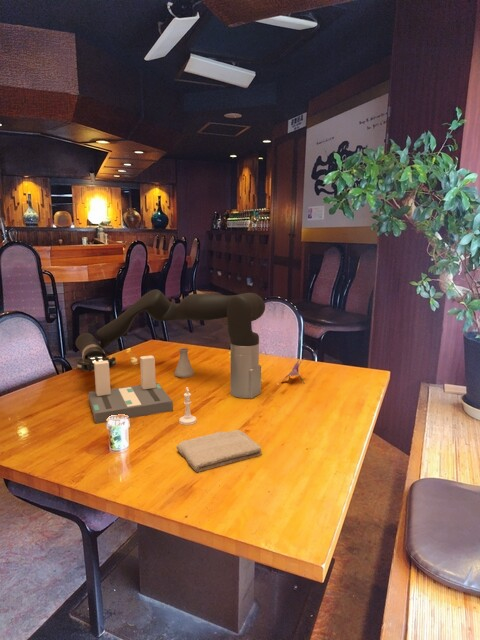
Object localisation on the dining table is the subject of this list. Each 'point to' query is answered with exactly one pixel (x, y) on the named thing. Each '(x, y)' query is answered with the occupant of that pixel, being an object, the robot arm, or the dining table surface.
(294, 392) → the dining table surface
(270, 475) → the dining table surface
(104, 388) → the tab
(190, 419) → the chess piece
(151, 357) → the tab
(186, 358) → the flask
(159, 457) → the dining table surface
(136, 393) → the switch bank
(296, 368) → the lily
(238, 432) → the washcloth
